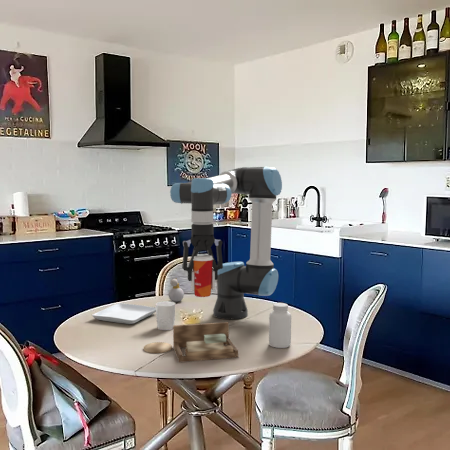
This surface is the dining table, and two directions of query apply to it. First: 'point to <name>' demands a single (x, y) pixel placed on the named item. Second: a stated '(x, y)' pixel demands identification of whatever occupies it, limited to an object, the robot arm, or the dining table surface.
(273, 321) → the pill bottle
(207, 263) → the paper cup
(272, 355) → the dining table surface
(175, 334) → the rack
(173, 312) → the white cup
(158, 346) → the mat
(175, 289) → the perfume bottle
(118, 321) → the salad plate
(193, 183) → the robot arm
